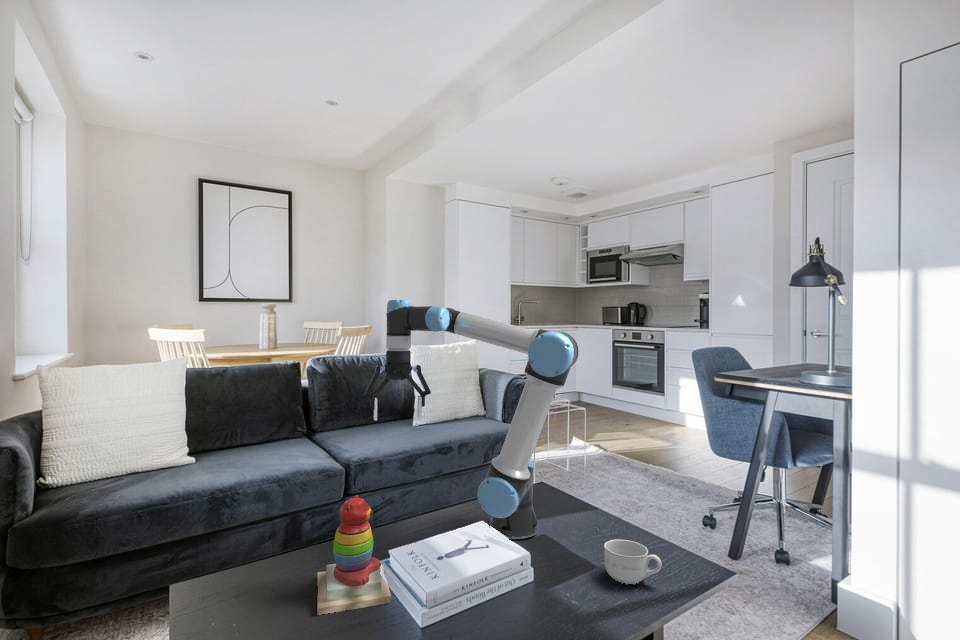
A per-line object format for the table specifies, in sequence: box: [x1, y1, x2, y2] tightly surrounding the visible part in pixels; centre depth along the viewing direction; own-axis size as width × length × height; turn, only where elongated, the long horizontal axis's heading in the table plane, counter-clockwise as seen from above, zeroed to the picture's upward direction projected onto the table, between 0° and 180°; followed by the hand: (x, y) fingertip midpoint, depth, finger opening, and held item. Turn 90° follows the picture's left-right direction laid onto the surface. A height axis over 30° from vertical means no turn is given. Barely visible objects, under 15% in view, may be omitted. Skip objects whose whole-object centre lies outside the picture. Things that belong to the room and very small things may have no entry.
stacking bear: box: [332, 494, 382, 586], centre depth 114 cm, size 11×10×18 cm
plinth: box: [316, 563, 392, 617], centre depth 114 cm, size 16×16×4 cm
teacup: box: [603, 538, 663, 585], centre depth 119 cm, size 14×11×8 cm
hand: (397, 418), depth 146 cm, fingers open, 13 cm apart
